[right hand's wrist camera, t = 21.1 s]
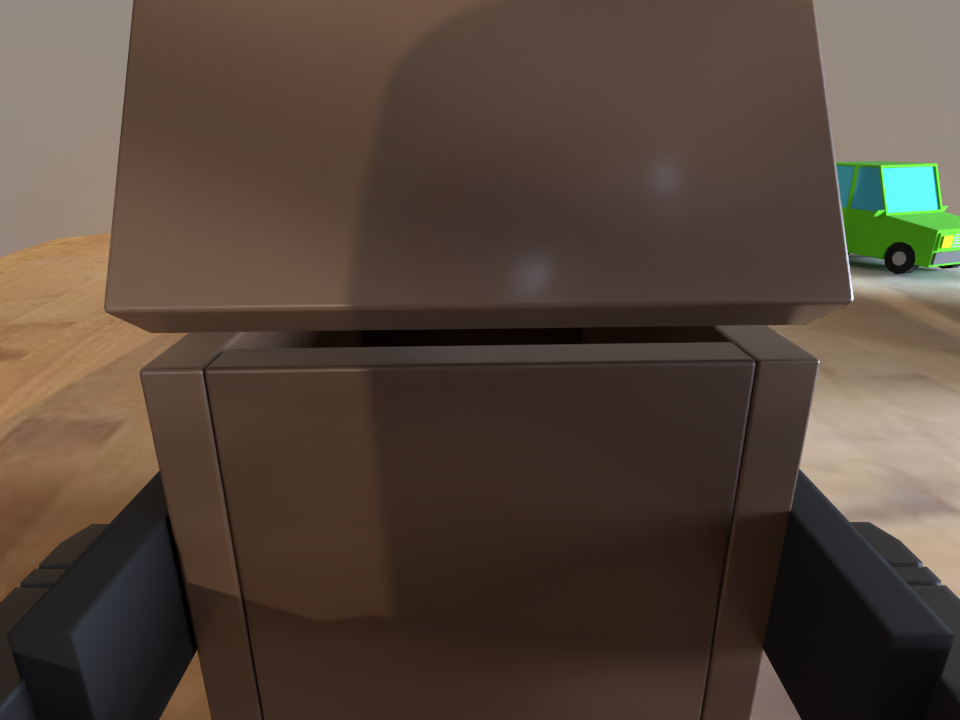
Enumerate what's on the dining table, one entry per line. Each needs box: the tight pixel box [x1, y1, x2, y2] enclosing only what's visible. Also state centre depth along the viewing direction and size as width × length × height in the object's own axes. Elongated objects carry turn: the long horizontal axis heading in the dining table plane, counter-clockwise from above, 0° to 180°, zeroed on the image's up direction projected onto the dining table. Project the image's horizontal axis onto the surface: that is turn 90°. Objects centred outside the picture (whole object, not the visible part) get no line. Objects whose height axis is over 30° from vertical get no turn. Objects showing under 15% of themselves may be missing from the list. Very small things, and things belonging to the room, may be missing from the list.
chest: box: [140, 325, 820, 720], centre depth 17 cm, size 14×10×10 cm
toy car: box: [836, 161, 960, 274], centre depth 64 cm, size 10×13×10 cm
